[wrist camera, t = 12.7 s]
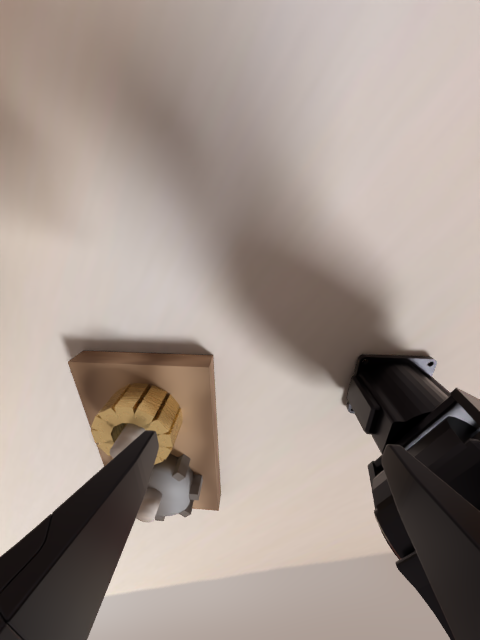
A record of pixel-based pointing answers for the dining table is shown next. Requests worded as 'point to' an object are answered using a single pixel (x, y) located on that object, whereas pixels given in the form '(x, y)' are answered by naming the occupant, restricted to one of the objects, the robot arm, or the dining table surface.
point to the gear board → (175, 383)
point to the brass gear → (139, 417)
